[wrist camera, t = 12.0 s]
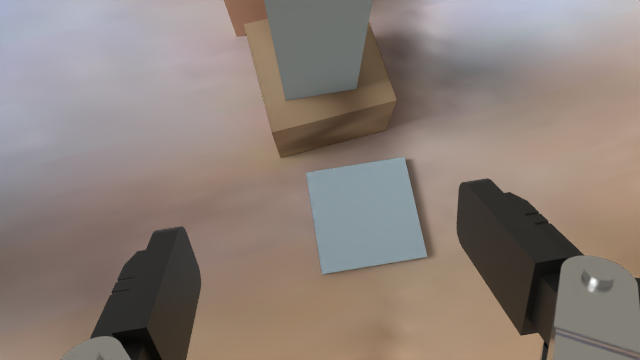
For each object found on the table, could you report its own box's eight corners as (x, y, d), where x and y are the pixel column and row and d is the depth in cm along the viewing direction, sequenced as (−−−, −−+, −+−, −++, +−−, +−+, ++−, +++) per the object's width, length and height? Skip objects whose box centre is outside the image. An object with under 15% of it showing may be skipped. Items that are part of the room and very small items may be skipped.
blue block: (285, 100, 25) (257, -30, 14) (274, 37, 26) (241, -129, 15) (356, 88, 25) (381, -49, 14) (342, 26, 26) (356, -146, 16)
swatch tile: (322, 274, 27) (321, 273, 26) (306, 174, 29) (305, 172, 28) (425, 257, 27) (427, 256, 26) (402, 159, 29) (404, 156, 28)
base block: (280, 158, 29) (271, 132, 24) (256, 65, 31) (243, 24, 27) (385, 131, 30) (397, 100, 25) (354, 40, 32) (359, -4, 27)
